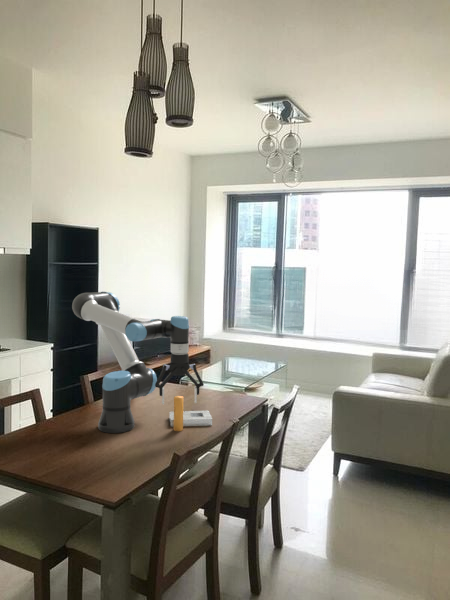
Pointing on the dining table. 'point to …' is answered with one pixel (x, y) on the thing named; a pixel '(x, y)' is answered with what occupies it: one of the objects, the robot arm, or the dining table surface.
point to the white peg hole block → (193, 418)
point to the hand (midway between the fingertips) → (179, 403)
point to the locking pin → (178, 413)
